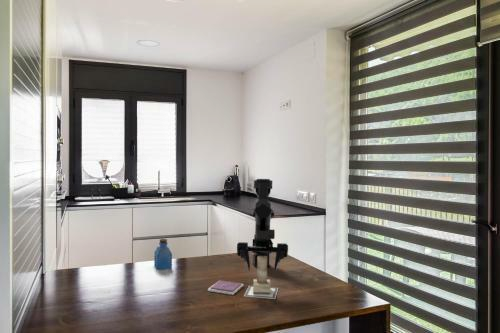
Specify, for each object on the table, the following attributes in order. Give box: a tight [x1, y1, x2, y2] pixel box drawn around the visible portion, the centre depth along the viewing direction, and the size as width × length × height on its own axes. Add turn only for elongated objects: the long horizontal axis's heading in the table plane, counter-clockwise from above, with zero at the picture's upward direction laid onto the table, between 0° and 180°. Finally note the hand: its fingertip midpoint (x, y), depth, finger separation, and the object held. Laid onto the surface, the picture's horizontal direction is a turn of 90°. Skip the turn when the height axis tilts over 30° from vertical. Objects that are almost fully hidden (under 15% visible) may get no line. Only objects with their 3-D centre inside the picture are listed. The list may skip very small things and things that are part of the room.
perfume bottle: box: [153, 238, 173, 271], centre depth 167 cm, size 6×6×12 cm
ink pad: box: [207, 280, 245, 296], centre depth 142 cm, size 10×10×1 cm
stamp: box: [252, 256, 271, 295], centre depth 139 cm, size 6×6×12 cm
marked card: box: [243, 285, 279, 300], centre depth 139 cm, size 11×11×1 cm
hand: (262, 270), depth 138 cm, fingers open, 9 cm apart
